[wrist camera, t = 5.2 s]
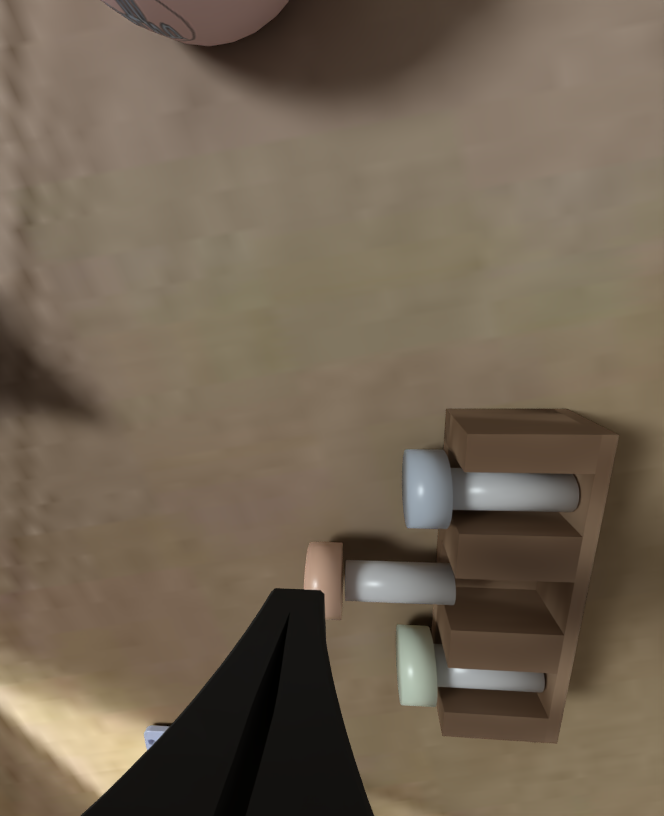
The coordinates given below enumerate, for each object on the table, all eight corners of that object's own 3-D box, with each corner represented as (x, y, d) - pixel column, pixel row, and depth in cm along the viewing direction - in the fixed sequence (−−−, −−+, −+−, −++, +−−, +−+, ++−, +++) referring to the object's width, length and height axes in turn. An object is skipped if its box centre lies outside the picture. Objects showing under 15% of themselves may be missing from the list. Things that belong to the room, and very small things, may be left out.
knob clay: (314, 582, 20) (305, 636, 17) (312, 527, 19) (302, 573, 16) (441, 586, 19) (457, 643, 16) (445, 531, 18) (463, 579, 15)
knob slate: (401, 502, 18) (410, 544, 15) (403, 438, 17) (413, 469, 14) (542, 505, 18) (583, 549, 14) (552, 439, 17) (598, 471, 14)
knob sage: (395, 657, 21) (401, 723, 18) (396, 609, 20) (403, 668, 17) (517, 664, 20) (547, 732, 17) (525, 615, 19) (558, 677, 16)
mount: (525, 672, 21) (556, 743, 18) (429, 667, 22) (442, 735, 18) (566, 408, 17) (619, 434, 14) (446, 408, 17) (467, 434, 14)
